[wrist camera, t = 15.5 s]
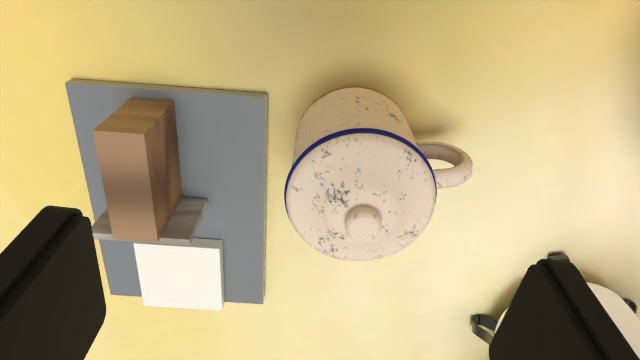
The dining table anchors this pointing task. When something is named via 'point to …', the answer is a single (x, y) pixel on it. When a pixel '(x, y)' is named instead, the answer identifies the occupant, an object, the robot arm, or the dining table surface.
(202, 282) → the tile
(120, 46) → the dining table surface
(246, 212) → the slate board
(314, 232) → the teacup with lid
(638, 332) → the coffee press
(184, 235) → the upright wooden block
